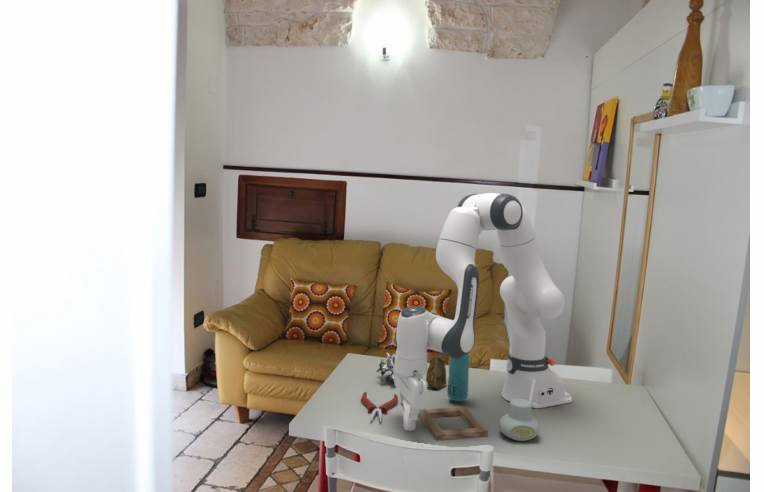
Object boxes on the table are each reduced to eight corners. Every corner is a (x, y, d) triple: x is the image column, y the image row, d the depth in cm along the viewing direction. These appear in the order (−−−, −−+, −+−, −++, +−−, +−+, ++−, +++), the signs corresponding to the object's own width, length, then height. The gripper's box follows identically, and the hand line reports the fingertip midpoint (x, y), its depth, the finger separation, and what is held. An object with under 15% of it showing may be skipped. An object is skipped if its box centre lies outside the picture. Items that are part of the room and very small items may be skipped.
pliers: (355, 425, 176) (355, 416, 176) (362, 398, 196) (362, 390, 196) (395, 427, 175) (395, 419, 175) (398, 400, 195) (398, 392, 195)
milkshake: (398, 424, 176) (400, 391, 175) (417, 425, 176) (419, 392, 175) (398, 431, 172) (399, 397, 170) (417, 432, 172) (419, 398, 170)
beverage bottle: (470, 400, 196) (473, 339, 193) (463, 407, 190) (467, 344, 187) (450, 396, 199) (454, 336, 196) (443, 403, 193) (447, 341, 190)
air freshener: (533, 430, 176) (536, 397, 175) (541, 443, 168) (544, 408, 166) (495, 429, 176) (498, 395, 174) (501, 442, 168) (504, 407, 166)
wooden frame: (464, 411, 187) (464, 406, 187) (487, 436, 171) (488, 431, 171) (417, 414, 184) (417, 409, 183) (436, 440, 167) (436, 435, 167)
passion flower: (399, 398, 209) (399, 378, 201) (370, 387, 213) (369, 367, 204) (412, 372, 217) (412, 352, 208) (383, 362, 220) (383, 342, 212)
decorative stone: (426, 356, 205) (435, 356, 203) (444, 356, 212) (452, 357, 209) (424, 388, 204) (433, 389, 202) (442, 387, 211) (450, 388, 208)
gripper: (433, 377, 162) (431, 427, 164) (411, 353, 182) (409, 398, 184) (411, 379, 161) (408, 429, 163) (390, 354, 180) (388, 399, 182)
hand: (408, 412), depth 173 cm, fingers open, 8 cm apart
